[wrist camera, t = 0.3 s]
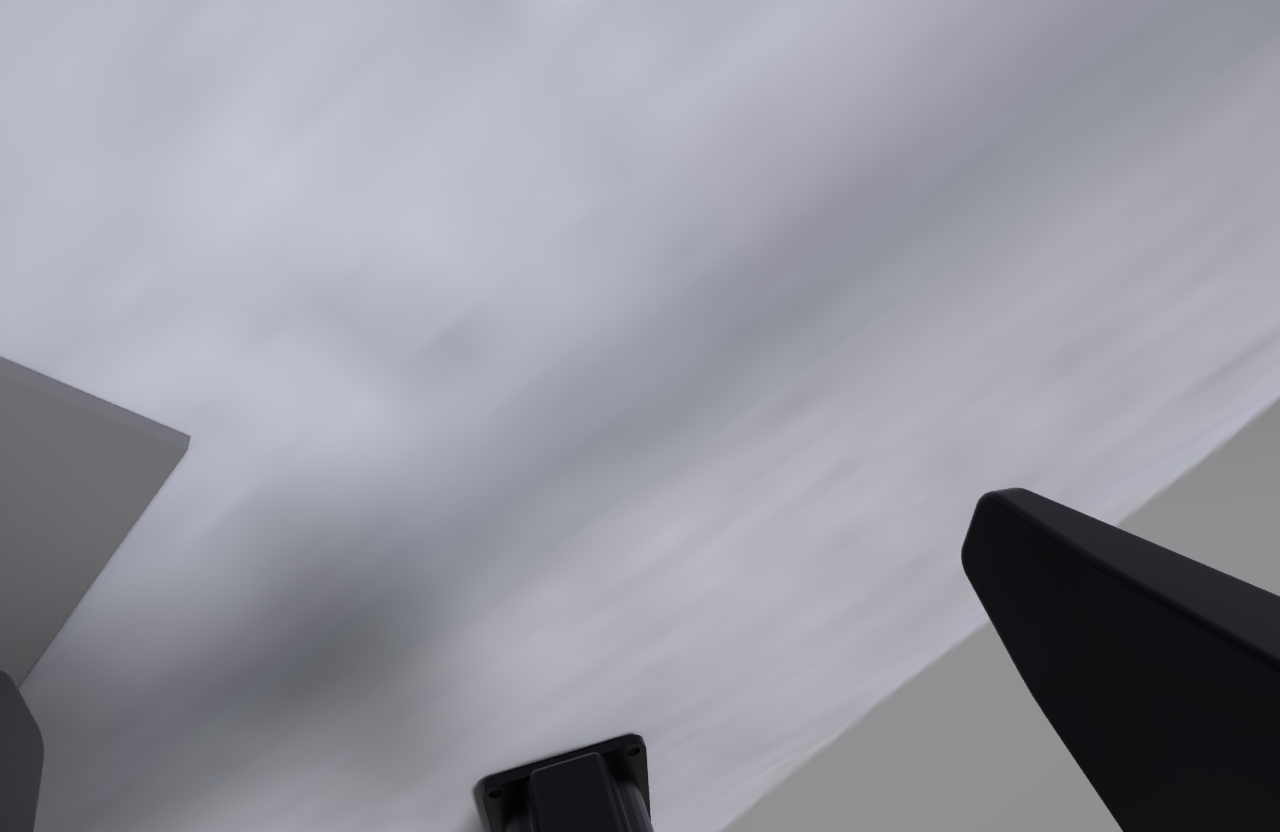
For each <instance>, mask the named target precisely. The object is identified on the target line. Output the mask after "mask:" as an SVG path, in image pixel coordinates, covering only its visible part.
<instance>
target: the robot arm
mask: <svg viewBox="0 0 1280 832" xmlns="http://www.w3.org/2000/svg"><path fill="white" fill-rule="evenodd" d="M961 560H962V565H963V568H964V571H965V573H966V576H967V577H968V579H969V581H970V583H971V585H972V587H973V588H974V590H975V592H976V594H977V596H978V598H979V599H980V601H981V603H982V605H983V607H984V609H985V611H986V612H987V614H988V616H989V618H990V620H991V622H992V623H993V625H994V627H995V629H996V631H997V633H998V634H999V636H1000V638H1001V640H1002V642H1003V644H1004V646H1005V647H1006V649H1007V651H1008V653H1009V655H1010V657H1011V658H1012V660H1013V662H1014V664H1015V666H1016V668H1017V669H1018V671H1019V673H1020V675H1021V677H1022V678H1023V680H1024V682H1025V683H1026V685H1027V687H1028V689H1029V691H1030V692H1031V694H1032V696H1033V697H1034V699H1035V700H1036V702H1037V703H1038V705H1039V707H1040V708H1041V710H1042V711H1043V713H1044V714H1045V716H1046V717H1047V719H1048V720H1049V722H1050V723H1051V725H1052V726H1053V728H1054V729H1055V731H1056V732H1057V734H1058V735H1059V737H1060V738H1061V740H1062V741H1063V743H1064V744H1065V746H1066V747H1067V749H1068V750H1069V752H1070V753H1071V755H1072V756H1073V758H1074V759H1075V760H1076V762H1077V764H1078V765H1079V767H1080V768H1081V769H1082V771H1083V773H1084V774H1085V776H1086V777H1087V778H1088V780H1089V782H1090V783H1091V785H1092V786H1093V787H1094V789H1095V790H1096V792H1097V793H1098V795H1099V796H1100V798H1101V799H1102V800H1103V802H1104V804H1105V805H1106V807H1107V808H1108V810H1109V811H1110V813H1111V814H1112V816H1113V817H1114V819H1115V820H1116V822H1117V823H1118V825H1119V826H1120V828H1121V829H1122V831H1123V832H1280V596H1278V595H1275V594H1273V593H1270V592H1268V591H1266V590H1263V589H1261V588H1258V587H1256V586H1254V585H1252V584H1249V583H1247V582H1245V581H1242V580H1239V579H1237V578H1235V577H1233V576H1230V575H1228V574H1225V573H1223V572H1221V571H1218V570H1216V569H1214V568H1211V567H1209V566H1207V565H1204V564H1201V563H1199V562H1197V561H1195V560H1192V559H1190V558H1188V557H1185V556H1183V555H1180V554H1178V553H1176V552H1173V551H1171V550H1169V549H1166V548H1164V547H1162V546H1159V545H1157V544H1154V543H1152V542H1150V541H1147V540H1145V539H1143V538H1140V537H1138V536H1135V535H1133V534H1131V533H1128V532H1126V531H1124V530H1121V529H1119V528H1116V527H1114V526H1112V525H1109V524H1107V523H1105V522H1102V521H1100V520H1097V519H1095V518H1093V517H1090V516H1088V515H1086V514H1083V513H1081V512H1079V511H1076V510H1074V509H1071V508H1069V507H1067V506H1064V505H1062V504H1060V503H1057V502H1055V501H1052V500H1050V499H1048V498H1045V497H1043V496H1041V495H1038V494H1036V493H1033V492H1031V491H1029V490H1026V489H1023V488H1009V489H1003V490H997V491H991V492H988V493H986V494H984V495H983V496H982V497H981V498H980V499H979V501H978V503H977V505H976V508H975V511H974V514H973V517H972V520H971V523H970V526H969V529H968V531H967V534H966V537H965V540H964V543H963V546H962V550H961ZM43 758H44V748H43V740H42V736H41V732H40V730H39V728H38V726H37V724H36V722H35V720H34V718H33V716H32V714H31V713H30V711H29V709H28V707H27V705H26V703H25V701H24V699H23V697H22V696H21V694H20V692H19V690H18V688H17V686H16V684H15V682H14V681H13V679H12V677H11V676H10V675H9V673H8V672H7V671H6V670H4V669H3V668H0V832H34V824H35V817H36V810H37V803H38V796H39V789H40V782H41V774H42V767H43ZM481 792H482V798H483V801H484V805H485V809H486V813H487V816H488V820H489V824H490V827H491V831H492V832H654V830H653V827H652V824H651V816H650V801H649V785H648V769H647V753H646V746H645V743H644V741H643V738H642V737H641V736H640V735H631V736H627V737H624V738H621V739H617V740H614V741H611V742H607V743H604V744H601V745H598V746H594V747H591V748H588V749H584V750H581V751H578V752H574V753H571V754H568V755H564V756H561V757H558V758H554V759H551V760H548V761H544V762H541V763H538V764H535V765H531V766H528V767H525V768H521V769H518V770H515V771H511V772H508V773H505V774H501V775H498V776H495V777H492V778H489V779H487V780H486V781H484V782H483V784H482V785H481Z"/></svg>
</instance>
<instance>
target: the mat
mask: <svg viewBox="0 0 1280 832" xmlns="http://www.w3.org/2000/svg"><path fill="white" fill-rule="evenodd" d="M190 437H191V436H189V435H186V434H184V433H181V432H179V431H177V430H174V429H172V428H169V427H167V426H165V425H162V424H160V423H158V422H155V421H153V420H150V419H148V418H146V417H143V416H141V415H138V414H136V413H134V412H131V411H129V410H126V409H124V408H122V407H119V406H117V405H114V404H112V403H110V402H107V401H105V400H103V399H100V398H98V397H95V396H93V395H91V394H88V393H86V392H83V391H81V390H79V389H76V388H74V387H71V386H69V385H67V384H64V383H62V382H59V381H57V380H55V379H52V378H50V377H48V376H45V375H43V374H40V373H38V372H36V371H33V370H31V369H28V368H26V367H24V366H21V365H19V364H16V363H14V362H12V361H9V360H7V359H4V358H2V357H0V668H3V669H4V670H6V671H7V672H8V673H9V675H10V676H11V677H12V679H13V681H14V682H15V684H16V686H17V688H18V686H19V685H20V683H21V682H22V681H23V679H24V678H25V676H26V675H27V674H28V672H29V671H30V669H31V668H32V667H33V665H34V664H35V662H36V661H37V660H38V658H39V657H40V655H41V654H42V653H43V651H44V650H45V649H46V647H47V646H48V644H49V643H50V642H51V640H52V639H53V637H54V636H55V635H56V633H57V632H58V630H59V629H60V628H61V626H62V625H63V623H64V622H65V621H66V619H67V618H68V616H69V615H70V614H71V612H72V611H73V609H74V608H75V607H76V605H77V604H78V602H79V601H80V600H81V598H82V597H83V595H84V594H85V593H86V591H87V590H88V588H89V587H90V586H91V584H92V583H93V581H94V580H95V579H96V577H97V576H98V574H99V573H100V572H101V570H102V569H103V567H104V566H105V565H106V563H107V562H108V560H109V559H110V558H111V556H112V555H113V553H114V552H115V551H116V549H117V548H118V546H119V545H120V544H121V542H122V541H123V539H124V538H125V537H126V535H127V534H128V532H129V531H130V530H131V528H132V527H133V526H134V524H135V523H136V521H137V520H138V519H139V517H140V516H141V514H142V513H143V512H144V510H145V509H146V507H147V506H148V505H149V503H150V502H151V500H152V499H153V498H154V496H155V495H156V493H157V492H158V491H159V489H160V488H161V486H162V485H163V484H164V482H165V481H166V479H167V478H168V477H169V475H170V474H171V472H172V471H173V470H174V468H175V467H176V465H177V464H178V463H179V461H180V460H181V458H182V457H183V456H184V454H185V453H186V451H187V450H188V446H189V441H190Z"/></svg>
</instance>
